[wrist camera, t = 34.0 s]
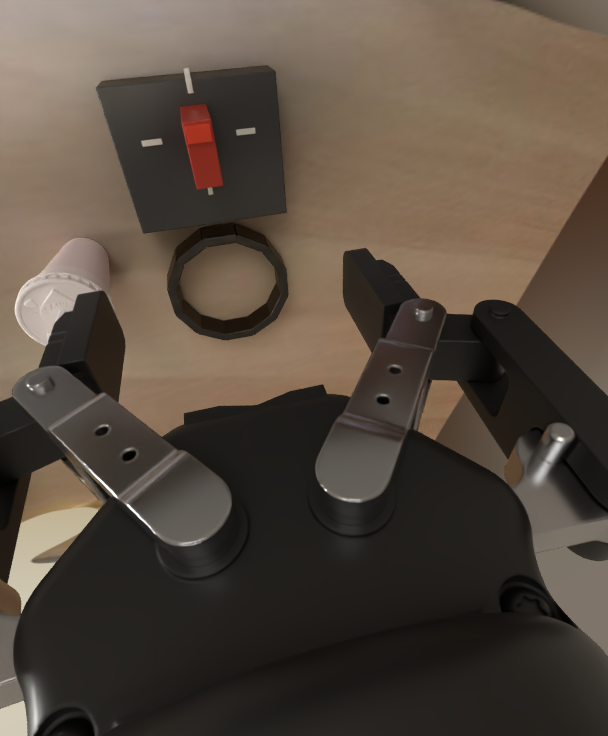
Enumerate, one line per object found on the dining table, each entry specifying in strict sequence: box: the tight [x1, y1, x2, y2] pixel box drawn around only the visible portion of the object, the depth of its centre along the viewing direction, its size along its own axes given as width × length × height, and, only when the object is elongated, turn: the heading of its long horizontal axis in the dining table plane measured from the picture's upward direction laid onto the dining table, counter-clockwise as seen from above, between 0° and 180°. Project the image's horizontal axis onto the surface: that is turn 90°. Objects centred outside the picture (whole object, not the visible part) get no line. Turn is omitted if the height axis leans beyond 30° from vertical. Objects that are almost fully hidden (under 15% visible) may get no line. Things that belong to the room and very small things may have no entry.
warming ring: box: [167, 223, 288, 340], centre depth 41 cm, size 11×11×2 cm
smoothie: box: [15, 238, 116, 346], centre depth 32 cm, size 6×6×14 cm
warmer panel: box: [96, 66, 287, 233], centre depth 32 cm, size 11×12×3 cm
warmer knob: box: [180, 104, 223, 189], centre depth 28 cm, size 4×2×5 cm, turn 4°
